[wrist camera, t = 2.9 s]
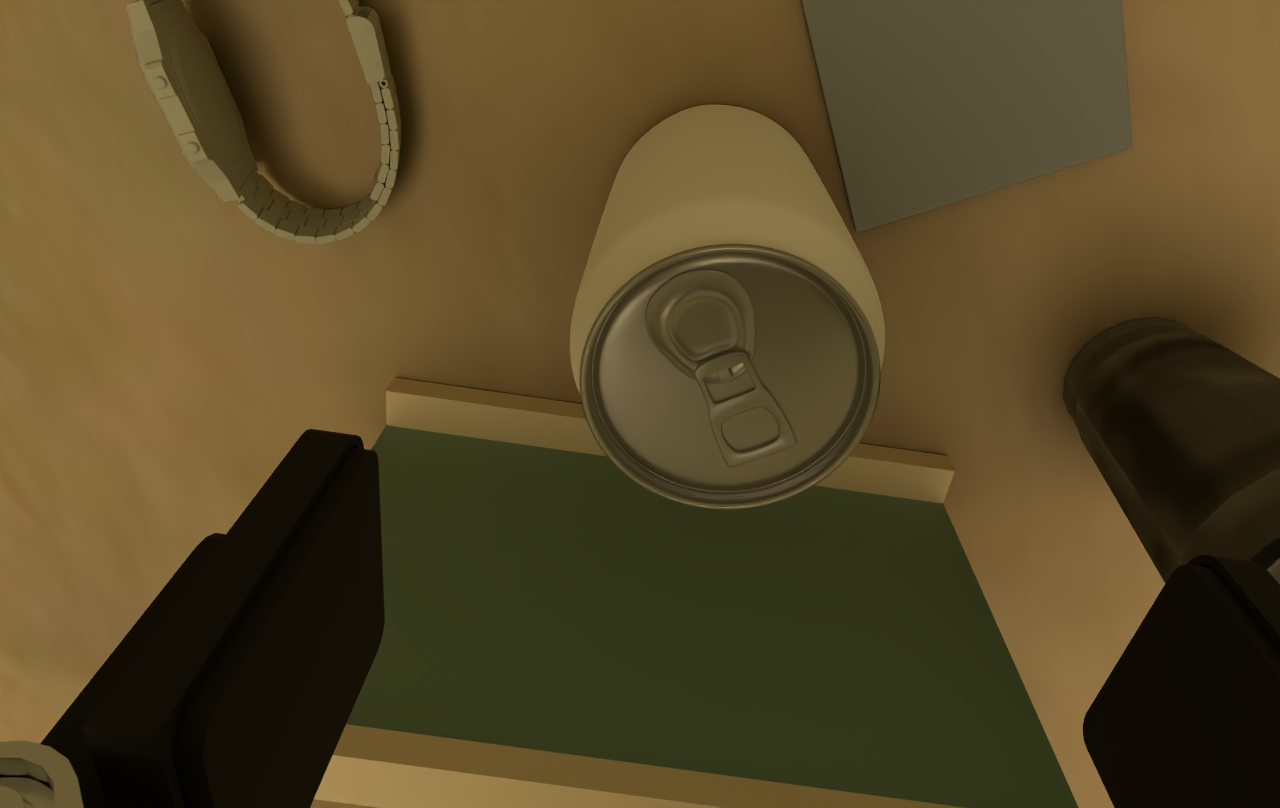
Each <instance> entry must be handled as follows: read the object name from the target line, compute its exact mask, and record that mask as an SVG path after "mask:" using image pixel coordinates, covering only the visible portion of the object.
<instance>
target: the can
mask: <svg viewBox="0 0 1280 808" xmlns="http://www.w3.org/2000/svg"><path fill="white" fill-rule="evenodd" d="M884 349H885V326H884V318H883V313H882V308H881V303H880V299H879V296H878V293H877V290H876V287H875V284H874V282H873V280H872V277H871V275H870V273H869V271H868V268H867V266H866V264H865V262H864V260H863V258H862V256H861V254H860V252H859V250H858V248H857V246H856V245H855V243H854V241H853V239H852V237H851V235H850V233H849V231H848V229H847V227H846V226H845V224H844V222H843V220H842V218H841V216H840V214H839V212H838V211H837V209H836V207H835V205H834V203H833V201H832V199H831V198H830V196H829V194H828V192H827V190H826V188H825V187H824V185H823V183H822V181H821V179H820V177H819V176H818V174H817V172H816V170H815V168H814V167H813V165H812V163H811V162H810V160H809V158H808V157H807V155H806V153H805V152H804V151H803V149H802V148H801V146H800V145H799V144H798V142H797V141H796V140H795V139H794V138H793V137H792V136H791V135H790V134H789V133H788V132H787V131H786V130H785V129H784V128H782V127H781V126H780V125H778V124H777V123H776V122H774V121H773V120H771V119H769V118H767V117H766V116H764V115H762V114H759V113H757V112H754V111H752V110H749V109H745V108H741V107H736V106H730V105H700V106H695V107H691V108H688V109H685V110H683V111H680V112H678V113H676V114H674V115H672V116H670V117H668V118H666V119H665V120H663V121H662V122H660V123H659V124H657V125H656V126H654V127H653V128H652V129H651V130H649V131H648V132H647V133H646V134H645V135H643V136H642V137H641V138H640V139H639V140H638V141H637V142H636V144H635V145H634V146H633V147H632V148H631V150H630V151H629V153H628V154H627V156H626V157H625V159H624V161H623V162H622V164H621V166H620V168H619V171H618V173H617V175H616V178H615V180H614V183H613V186H612V189H611V191H610V194H609V197H608V200H607V203H606V206H605V209H604V212H603V215H602V218H601V221H600V224H599V227H598V230H597V233H596V236H595V239H594V242H593V245H592V249H591V252H590V255H589V258H588V261H587V264H586V267H585V271H584V274H583V277H582V280H581V283H580V287H579V290H578V293H577V297H576V301H575V305H574V309H573V314H572V320H571V329H570V359H571V366H572V371H573V376H574V379H575V383H576V386H577V389H578V391H579V394H580V396H581V402H582V407H583V411H584V414H585V417H586V420H587V423H588V425H589V428H590V430H591V432H592V434H593V436H594V438H595V440H596V441H597V443H598V445H599V446H600V448H601V449H602V450H603V452H604V453H605V454H606V456H607V457H608V458H609V459H610V460H611V462H612V463H613V464H614V465H615V466H616V467H617V468H618V469H619V470H620V471H621V472H623V473H624V474H625V475H626V476H627V477H629V478H630V479H631V480H633V481H634V482H635V483H637V484H638V485H640V486H641V487H643V488H645V489H646V490H648V491H650V492H652V493H654V494H656V495H658V496H660V497H663V498H665V499H668V500H670V501H673V502H676V503H679V504H683V505H687V506H691V507H696V508H702V509H711V510H742V509H751V508H757V507H762V506H766V505H770V504H774V503H777V502H780V501H783V500H786V499H789V498H791V497H794V496H796V495H798V494H800V493H802V492H804V491H806V490H808V489H810V488H811V487H813V486H815V485H816V484H818V483H819V482H821V481H822V480H824V479H825V478H826V477H828V476H829V475H830V474H831V473H833V472H834V471H835V470H836V469H837V468H838V467H839V466H840V465H841V464H842V463H843V462H844V461H845V460H846V459H847V458H848V457H849V456H850V454H851V453H852V452H853V451H854V449H855V448H856V447H857V445H858V444H859V442H860V441H861V439H862V438H863V436H864V434H865V432H866V430H867V428H868V426H869V424H870V422H871V420H872V417H873V414H874V411H875V408H876V404H877V400H878V395H879V389H880V372H881V368H882V363H883V358H884Z"/></svg>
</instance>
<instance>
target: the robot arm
mask: <svg viewBox="0 0 1280 808" xmlns="http://www.w3.org/2000/svg"><path fill="white" fill-rule="evenodd" d="M384 623H385V610H384V586H383V561H382V536H381V512H380V487H379V462H378V456H377V453H376V452H375V451H373V450H366V449H364V446H363V442H362V439H361V438H360V437H359V436H357V435H350V434H343V433H336V432H329V431H322V430H315V429H309V430H306V431H305V432H304V433H303V434H302V435H301V437H300V438H299V439H298V440H297V442H296V443H295V444H294V446H293V447H292V448H291V450H290V451H289V452H288V454H287V455H286V456H285V458H284V459H283V460H282V462H281V463H280V464H279V465H278V467H277V468H276V469H275V471H274V472H273V473H272V475H271V476H270V477H269V479H268V480H267V481H266V483H265V484H264V485H263V487H262V488H261V489H260V491H259V492H258V493H257V494H256V496H255V497H254V498H253V500H252V501H251V502H250V504H249V505H248V506H247V508H246V509H245V510H244V512H243V513H242V514H241V516H240V517H239V518H238V520H237V521H236V522H235V523H234V525H233V526H232V527H231V529H230V530H229V531H228V533H227V534H226V535H225V534H218V533H215V534H212V535H210V536H208V537H206V538H205V539H204V540H203V541H202V542H201V543H200V544H199V545H198V546H197V547H196V548H195V549H194V550H193V552H192V553H191V554H190V555H189V557H188V558H187V559H186V560H185V562H184V563H183V564H182V565H181V567H180V568H179V569H178V570H177V572H176V573H175V574H174V576H173V577H172V578H171V579H170V581H169V582H168V583H167V584H166V586H165V587H164V588H163V589H162V591H161V592H160V593H159V594H158V596H157V597H156V598H155V600H154V601H153V602H152V603H151V605H150V606H149V607H148V608H147V610H146V611H145V612H144V613H143V615H142V616H141V617H140V619H139V620H138V621H137V622H136V624H135V625H134V626H133V627H132V629H131V630H130V631H129V632H128V634H127V635H126V636H125V637H124V639H123V640H122V641H121V643H120V644H119V645H118V646H117V648H116V649H115V650H114V651H113V653H112V654H111V655H110V656H109V658H108V659H107V660H106V661H105V663H104V664H103V665H102V667H101V668H100V669H99V670H98V672H97V673H96V674H95V675H94V677H93V678H92V679H91V680H90V682H89V683H88V684H87V685H86V687H85V688H84V689H83V691H82V692H81V693H80V694H79V696H78V697H77V698H76V699H75V701H74V702H73V703H72V704H71V706H70V707H69V708H68V709H67V711H66V712H65V713H64V715H63V716H62V717H61V718H60V720H59V721H58V722H57V723H56V725H55V726H54V727H53V728H52V730H51V731H50V732H49V733H48V735H47V736H46V737H45V739H44V740H43V741H42V742H41V744H37V743H32V742H28V741H10V742H0V808H310V806H311V804H312V802H313V800H314V797H315V795H316V793H317V790H318V788H319V786H320V783H321V781H322V779H323V776H324V774H325V772H326V770H327V767H328V765H329V763H330V760H331V758H332V756H333V753H334V751H335V749H336V746H337V744H338V742H339V739H340V737H341V735H342V733H343V730H344V728H345V726H346V723H347V721H348V719H349V716H350V714H351V712H352V709H353V707H354V705H355V703H356V700H357V698H358V696H359V693H360V691H361V689H362V686H363V684H364V682H365V679H366V677H367V675H368V673H369V670H370V668H371V666H372V663H373V661H374V659H375V656H376V654H377V652H378V649H379V646H380V643H381V640H382V636H383V631H384ZM1083 736H1084V742H1085V745H1086V747H1087V750H1088V752H1089V754H1090V756H1091V758H1092V760H1093V763H1094V765H1095V767H1096V769H1097V771H1098V773H1099V775H1100V778H1101V780H1102V782H1103V784H1104V786H1105V788H1106V790H1107V793H1108V795H1109V797H1110V799H1111V801H1112V803H1113V805H1114V808H1280V584H1279V583H1278V582H1277V581H1276V580H1275V578H1274V577H1273V576H1272V575H1271V574H1270V573H1269V571H1268V570H1266V569H1265V568H1264V567H1263V566H1262V565H1260V564H1259V563H1256V562H1253V561H1248V560H1241V559H1234V558H1226V557H1219V556H1212V555H1198V556H1196V557H1195V558H1193V559H1191V560H1190V561H1189V562H1188V564H1187V565H1181V566H1179V567H1178V568H1176V569H1175V570H1174V572H1173V573H1172V574H1171V576H1170V577H1169V579H1168V581H1167V582H1166V584H1165V586H1164V587H1163V589H1162V590H1161V592H1160V594H1159V595H1158V597H1157V599H1156V600H1155V602H1154V604H1153V605H1152V607H1151V608H1150V610H1149V612H1148V613H1147V615H1146V617H1145V618H1144V620H1143V622H1142V623H1141V625H1140V626H1139V628H1138V630H1137V631H1136V633H1135V635H1134V636H1133V638H1132V639H1131V641H1130V643H1129V644H1128V646H1127V648H1126V649H1125V651H1124V653H1123V654H1122V656H1121V657H1120V659H1119V661H1118V662H1117V664H1116V666H1115V667H1114V669H1113V671H1112V672H1111V674H1110V675H1109V677H1108V679H1107V680H1106V682H1105V684H1104V685H1103V687H1102V689H1101V690H1100V692H1099V693H1098V695H1097V697H1096V698H1095V700H1094V702H1093V703H1092V705H1091V706H1090V708H1089V710H1088V711H1087V713H1086V716H1085V718H1084V723H1083Z"/></svg>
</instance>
